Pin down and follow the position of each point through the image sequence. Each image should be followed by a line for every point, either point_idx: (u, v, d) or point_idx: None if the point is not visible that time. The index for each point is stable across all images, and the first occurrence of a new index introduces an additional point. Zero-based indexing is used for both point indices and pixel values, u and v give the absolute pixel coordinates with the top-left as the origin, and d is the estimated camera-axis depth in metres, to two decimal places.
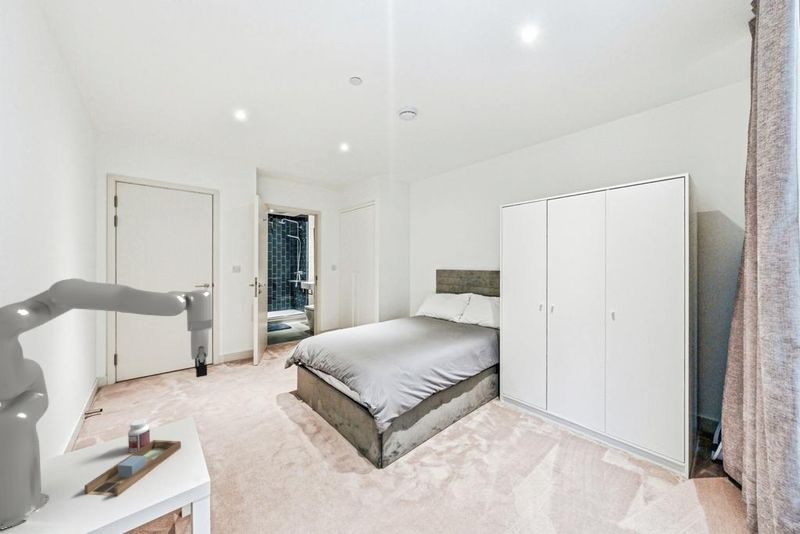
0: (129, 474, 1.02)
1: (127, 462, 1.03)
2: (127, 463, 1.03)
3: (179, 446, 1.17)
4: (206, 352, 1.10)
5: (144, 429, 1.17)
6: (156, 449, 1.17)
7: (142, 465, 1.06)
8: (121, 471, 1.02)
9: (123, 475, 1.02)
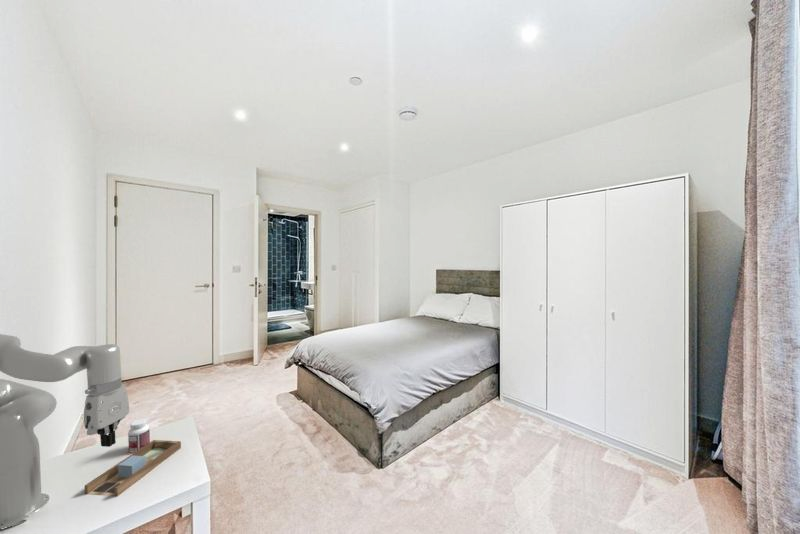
0: (129, 474, 1.02)
1: (127, 462, 1.03)
2: (127, 463, 1.03)
3: (179, 446, 1.17)
4: None
5: (144, 429, 1.17)
6: (156, 449, 1.17)
7: (142, 465, 1.06)
8: (121, 471, 1.02)
9: (123, 475, 1.02)
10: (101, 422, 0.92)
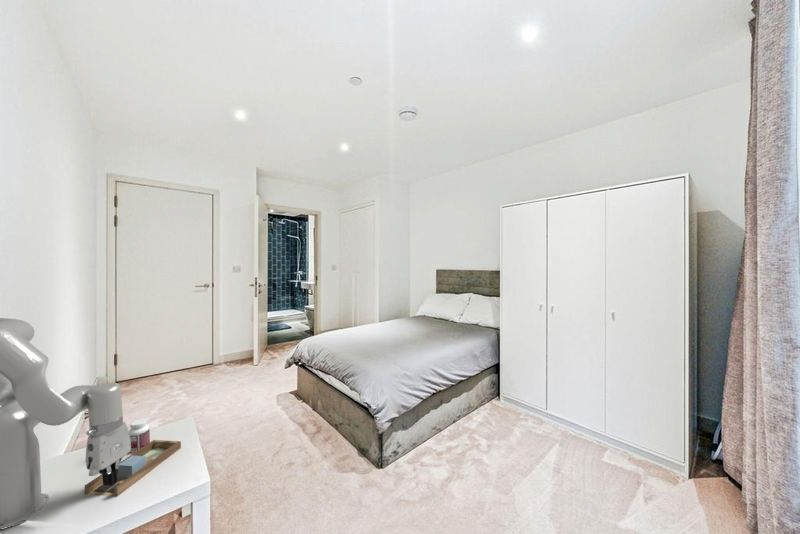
0: (129, 474, 1.02)
1: (127, 462, 1.03)
2: (127, 463, 1.03)
3: (179, 446, 1.17)
4: None
5: (144, 429, 1.17)
6: (156, 449, 1.17)
7: (142, 465, 1.06)
8: (121, 471, 1.02)
9: (123, 475, 1.02)
10: (103, 463, 0.92)
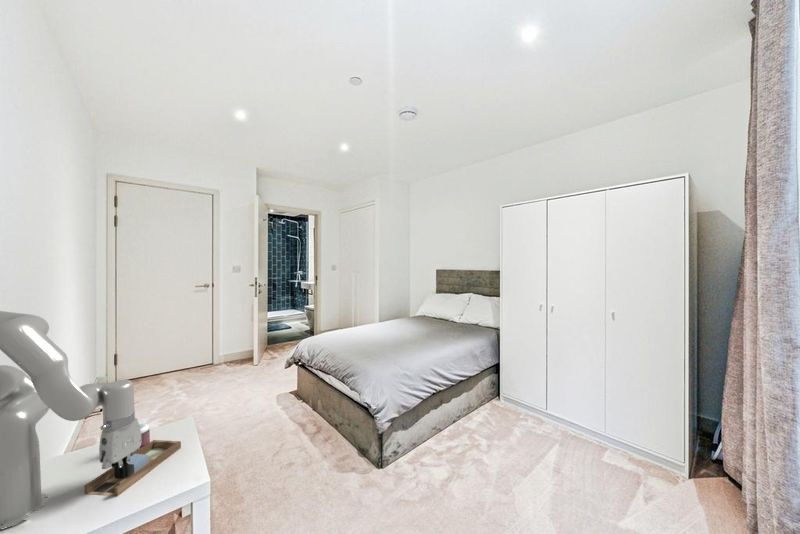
0: (131, 472, 1.03)
1: None
2: (130, 461, 1.04)
3: (179, 446, 1.17)
4: None
5: (144, 429, 1.17)
6: (156, 449, 1.17)
7: (144, 463, 1.06)
8: None
9: None
10: (115, 456, 0.96)
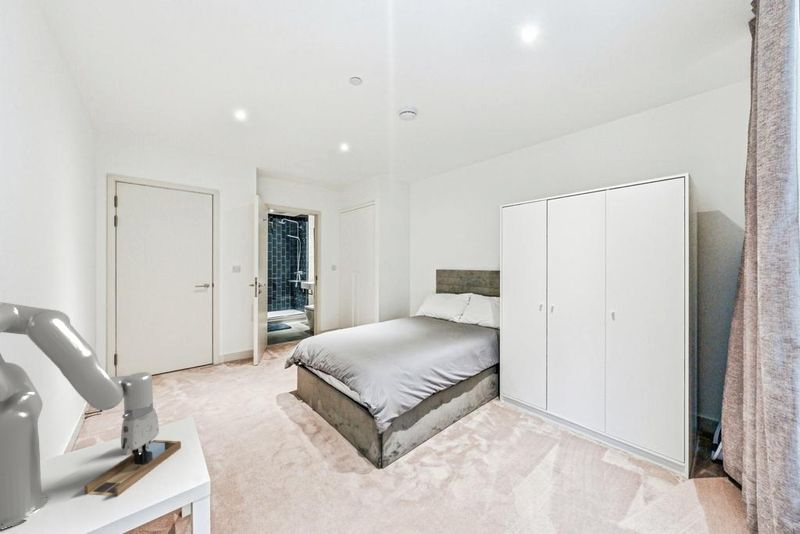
0: (150, 459, 1.10)
1: None
2: (148, 449, 1.11)
3: (179, 446, 1.17)
4: None
5: None
6: None
7: (161, 451, 1.13)
8: None
9: None
10: (136, 443, 1.03)
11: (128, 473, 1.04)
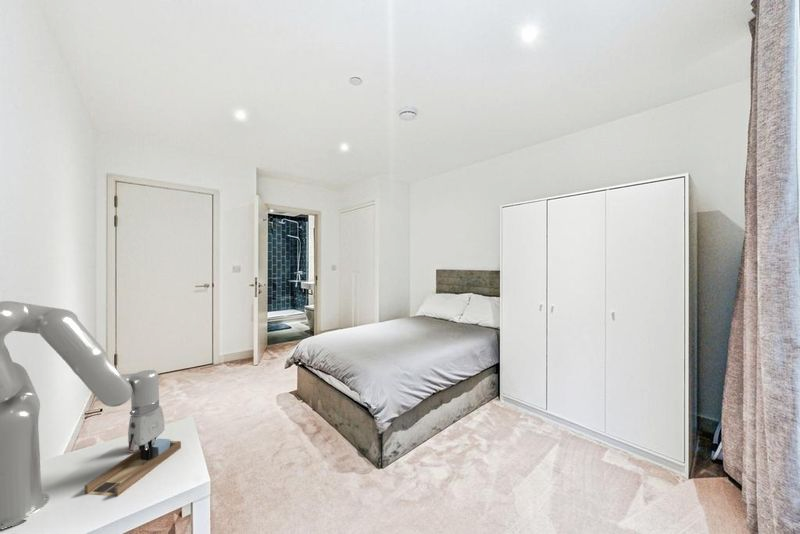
0: (156, 455, 1.12)
1: None
2: (154, 445, 1.13)
3: (179, 446, 1.17)
4: None
5: None
6: None
7: (167, 447, 1.16)
8: None
9: None
10: (143, 439, 1.06)
11: (128, 473, 1.04)
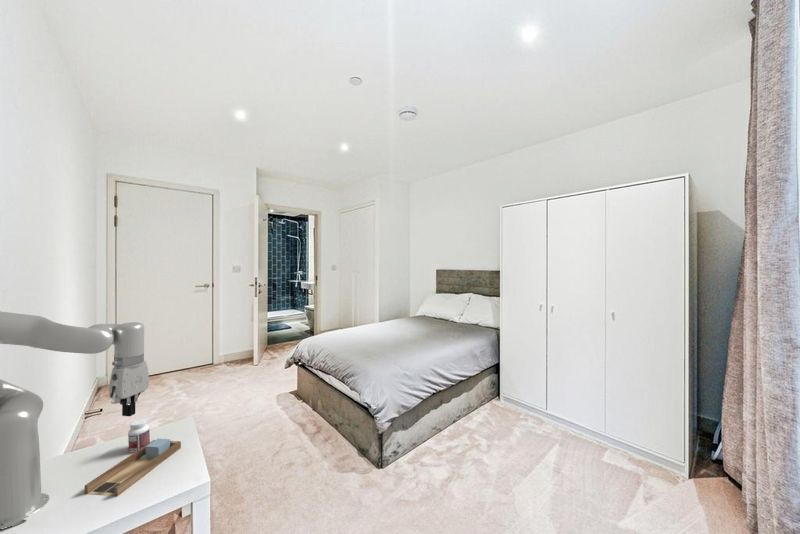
0: (156, 455, 1.12)
1: (153, 444, 1.13)
2: (154, 445, 1.13)
3: (179, 446, 1.17)
4: None
5: (144, 429, 1.17)
6: None
7: (167, 447, 1.16)
8: (148, 452, 1.12)
9: (150, 455, 1.12)
10: (125, 392, 1.01)
11: (128, 473, 1.04)
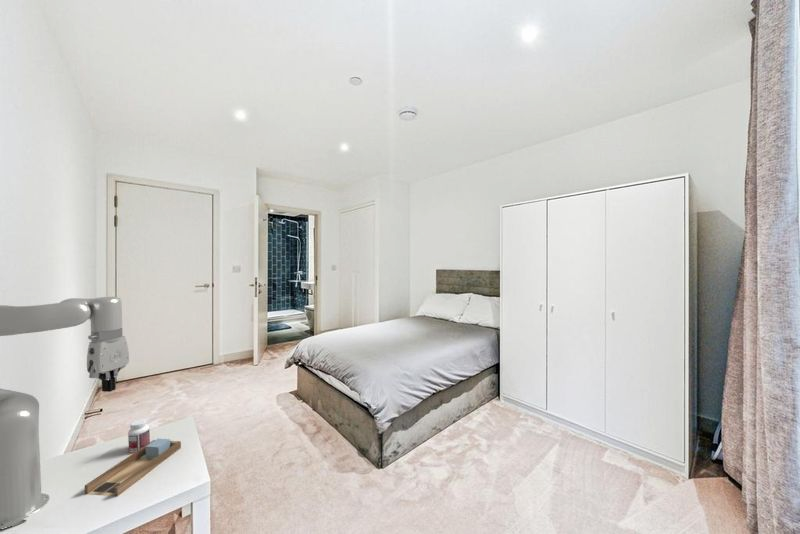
0: (156, 455, 1.12)
1: (153, 444, 1.13)
2: (154, 445, 1.13)
3: (179, 446, 1.17)
4: None
5: (144, 429, 1.17)
6: None
7: (167, 447, 1.16)
8: (148, 452, 1.12)
9: (150, 455, 1.12)
10: (103, 367, 0.99)
11: (128, 473, 1.04)
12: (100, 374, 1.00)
